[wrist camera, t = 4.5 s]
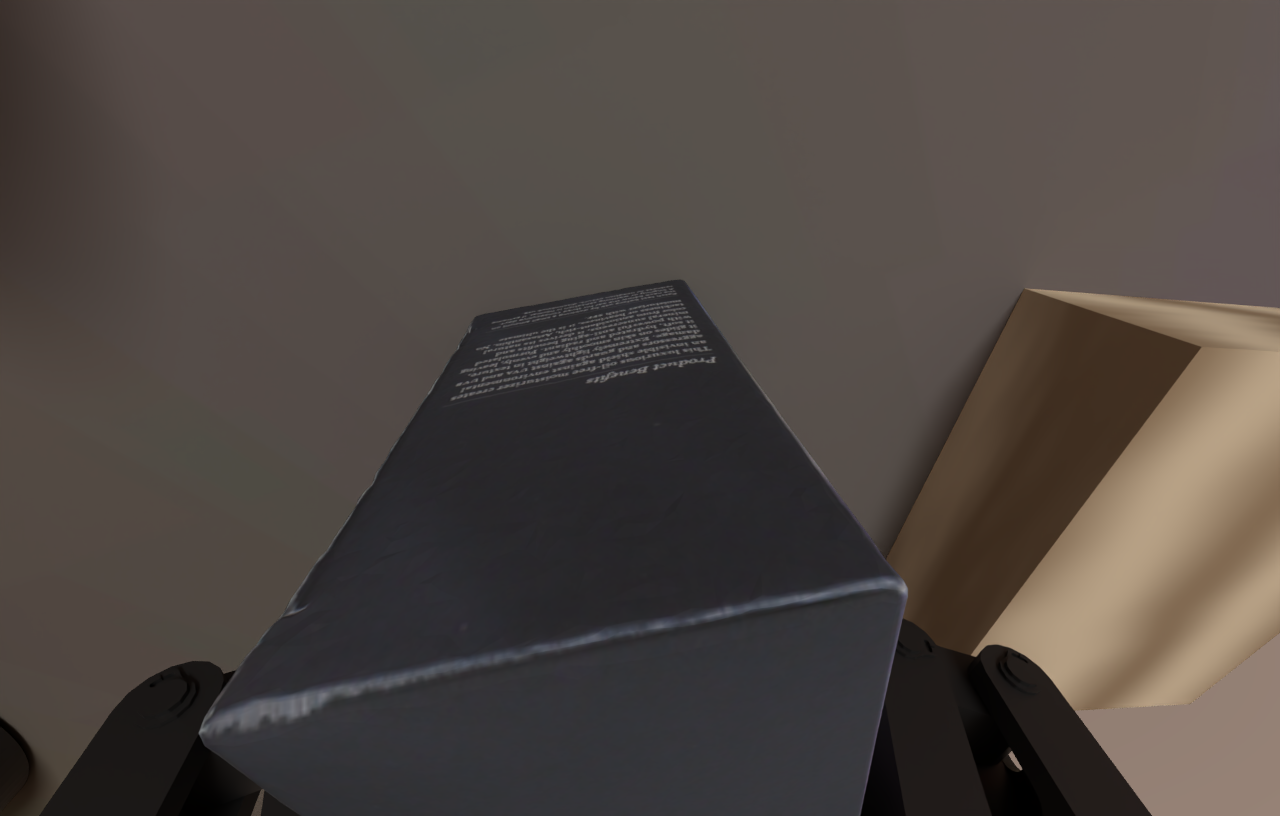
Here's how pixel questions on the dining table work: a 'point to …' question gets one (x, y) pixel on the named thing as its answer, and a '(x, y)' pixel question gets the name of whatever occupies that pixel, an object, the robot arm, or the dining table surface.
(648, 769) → the small box
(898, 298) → the dining table surface
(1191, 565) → the wooden block
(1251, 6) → the dining table surface
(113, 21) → the dining table surface
